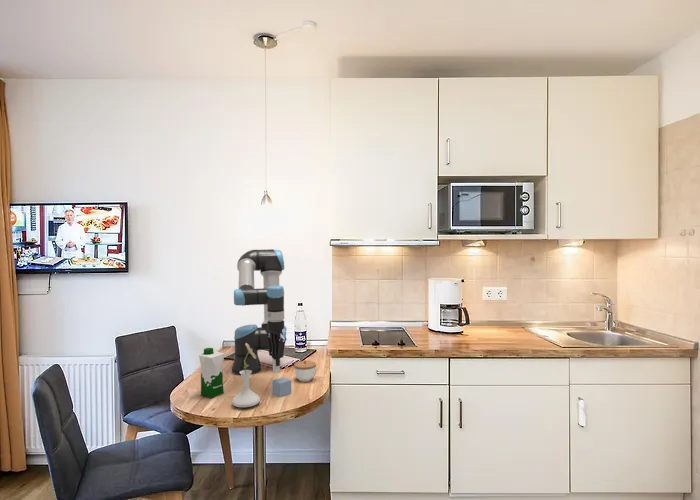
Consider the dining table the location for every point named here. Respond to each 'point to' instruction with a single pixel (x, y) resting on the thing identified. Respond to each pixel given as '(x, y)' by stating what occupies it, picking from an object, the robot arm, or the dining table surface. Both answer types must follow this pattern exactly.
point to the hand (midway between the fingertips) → (276, 372)
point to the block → (281, 387)
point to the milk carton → (211, 373)
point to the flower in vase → (246, 388)
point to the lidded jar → (305, 370)
